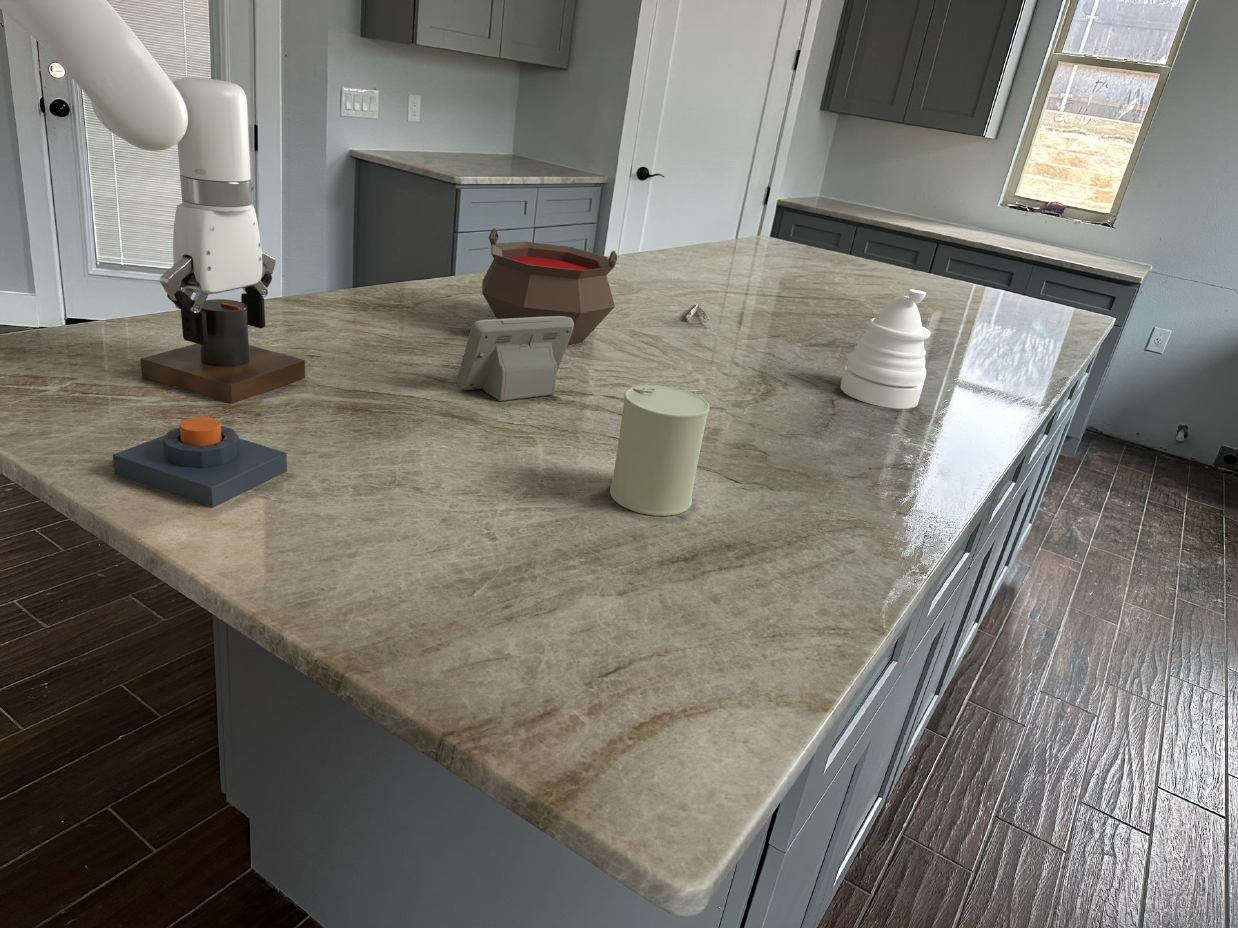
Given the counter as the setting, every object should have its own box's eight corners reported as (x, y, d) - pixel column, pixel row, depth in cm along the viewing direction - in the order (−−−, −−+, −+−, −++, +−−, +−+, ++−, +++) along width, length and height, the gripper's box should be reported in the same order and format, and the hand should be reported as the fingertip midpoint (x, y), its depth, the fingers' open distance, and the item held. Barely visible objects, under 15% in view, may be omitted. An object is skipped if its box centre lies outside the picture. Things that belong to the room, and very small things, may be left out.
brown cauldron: (626, 331, 157) (638, 242, 150) (590, 365, 135) (603, 262, 129) (504, 307, 161) (511, 219, 154) (450, 336, 139) (456, 235, 133)
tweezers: (708, 326, 169) (710, 316, 169) (685, 322, 169) (686, 312, 169) (707, 311, 186) (708, 302, 185) (685, 308, 186) (686, 299, 185)
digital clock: (555, 377, 127) (562, 308, 123) (578, 399, 120) (587, 326, 115) (448, 380, 120) (452, 306, 116) (466, 403, 113) (471, 325, 108)
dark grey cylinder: (190, 359, 106) (186, 302, 103) (224, 349, 111) (221, 294, 108) (226, 369, 105) (223, 311, 102) (258, 359, 110) (256, 303, 107)
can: (639, 471, 100) (654, 375, 95) (706, 499, 96) (726, 399, 91) (592, 493, 93) (607, 390, 88) (663, 525, 88) (682, 418, 84)
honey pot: (934, 405, 141) (966, 299, 133) (881, 411, 134) (912, 299, 127) (876, 379, 150) (903, 278, 143) (824, 383, 143) (850, 278, 136)
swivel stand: (141, 377, 105) (139, 358, 104) (221, 354, 117) (220, 337, 116) (231, 404, 102) (230, 385, 101) (305, 378, 113) (304, 360, 112)
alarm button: (172, 441, 82) (170, 424, 82) (201, 430, 86) (200, 414, 85) (201, 450, 81) (200, 433, 81) (229, 439, 85) (228, 422, 84)
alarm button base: (114, 475, 82) (110, 437, 81) (195, 442, 91) (193, 408, 89) (212, 509, 79) (210, 470, 77) (287, 472, 88) (286, 436, 86)
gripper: (245, 184, 109) (251, 314, 115) (129, 192, 93) (145, 342, 100) (293, 194, 106) (297, 326, 113) (183, 204, 91) (195, 356, 98)
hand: (225, 333), depth 107 cm, fingers open, 9 cm apart
